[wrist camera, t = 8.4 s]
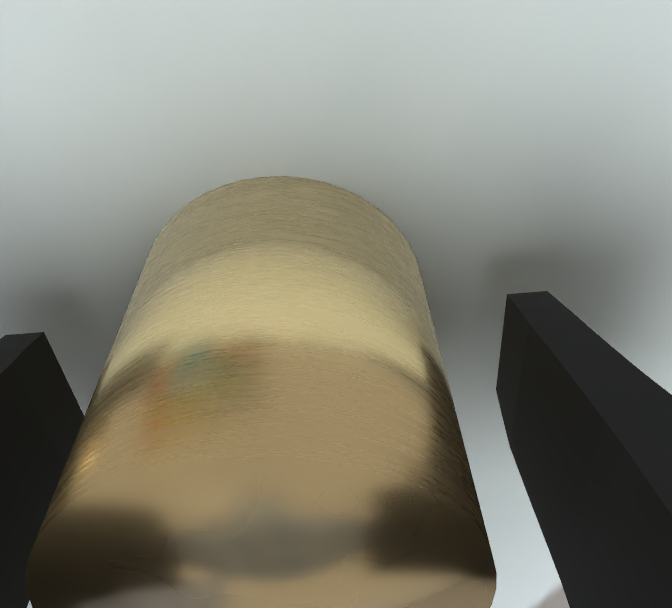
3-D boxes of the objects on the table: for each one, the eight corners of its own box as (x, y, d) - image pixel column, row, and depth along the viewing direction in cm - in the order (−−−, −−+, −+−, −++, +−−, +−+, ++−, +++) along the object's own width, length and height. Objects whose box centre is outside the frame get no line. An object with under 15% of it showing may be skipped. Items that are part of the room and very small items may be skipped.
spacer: (421, 390, 13) (481, 686, 8) (180, 409, 13) (110, 710, 8) (423, 162, 9) (519, 436, 5) (106, 190, 10) (-66, 481, 5)
